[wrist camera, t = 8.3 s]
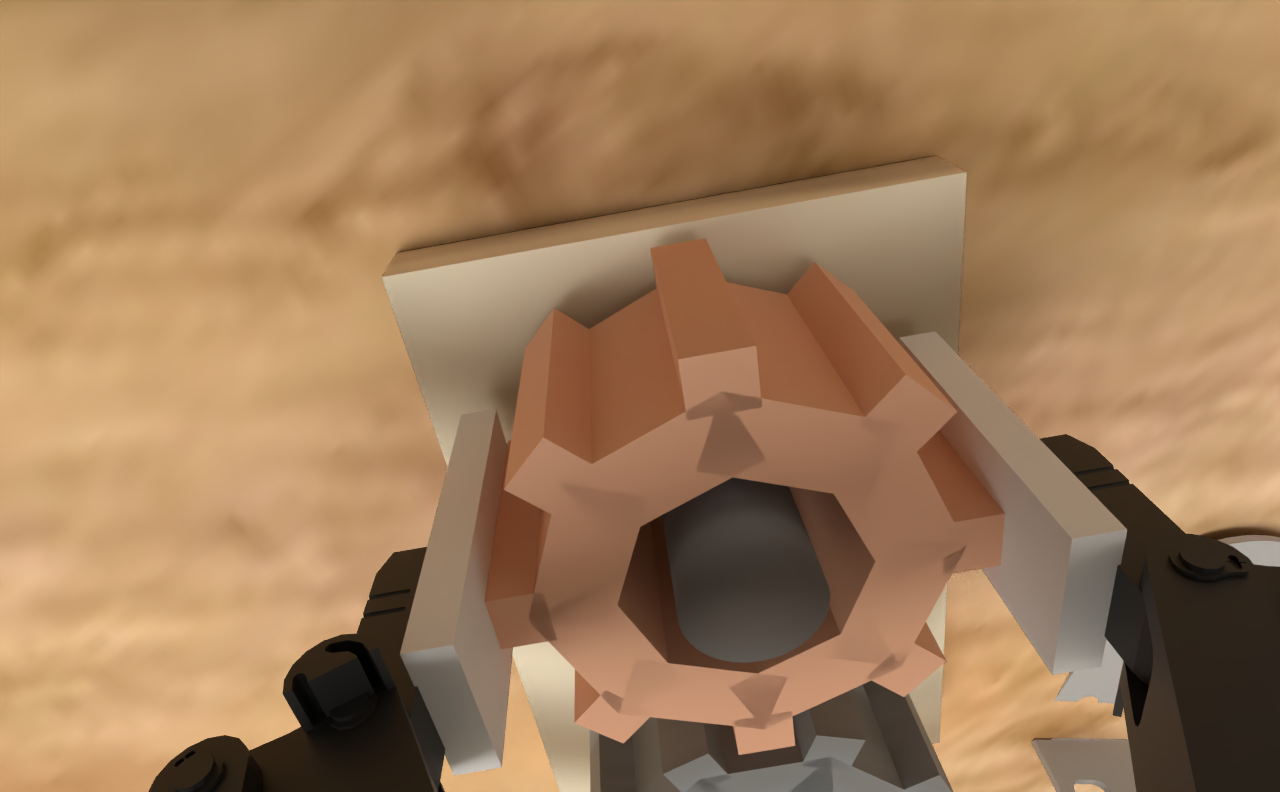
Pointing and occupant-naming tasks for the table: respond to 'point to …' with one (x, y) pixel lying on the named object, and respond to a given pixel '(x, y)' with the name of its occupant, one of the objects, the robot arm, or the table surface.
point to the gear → (709, 455)
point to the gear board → (618, 270)
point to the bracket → (1112, 757)
